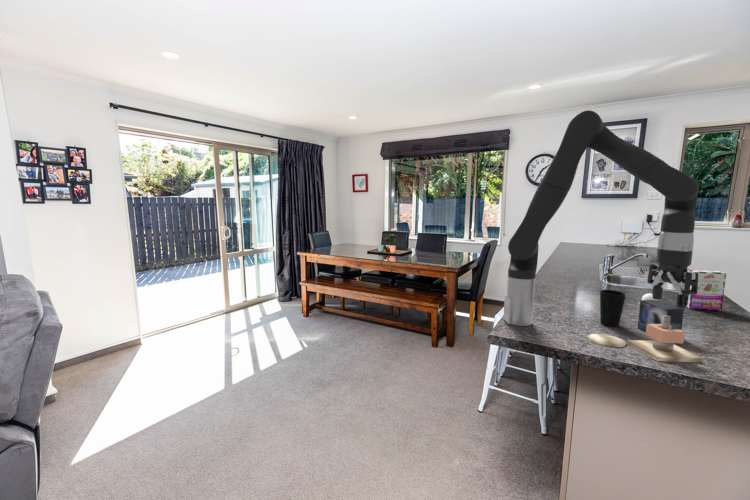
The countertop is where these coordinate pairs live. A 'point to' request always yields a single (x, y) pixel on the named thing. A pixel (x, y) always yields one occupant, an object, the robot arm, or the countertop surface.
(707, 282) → the candy bar box
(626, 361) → the countertop surface
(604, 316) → the cup
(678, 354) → the peg stand
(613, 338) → the coaster
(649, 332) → the c link
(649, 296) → the capsule
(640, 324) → the small box
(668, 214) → the robot arm
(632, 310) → the countertop surface
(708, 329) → the countertop surface
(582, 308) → the countertop surface
